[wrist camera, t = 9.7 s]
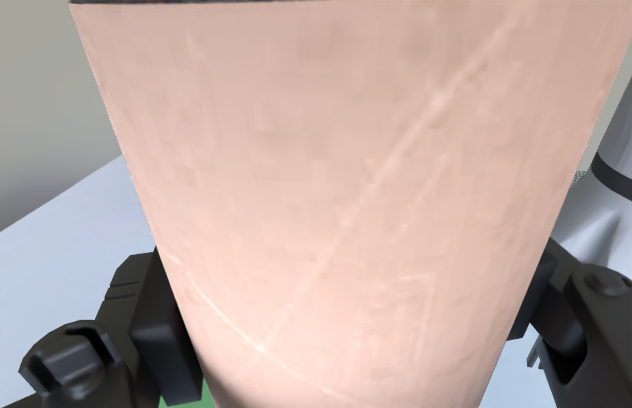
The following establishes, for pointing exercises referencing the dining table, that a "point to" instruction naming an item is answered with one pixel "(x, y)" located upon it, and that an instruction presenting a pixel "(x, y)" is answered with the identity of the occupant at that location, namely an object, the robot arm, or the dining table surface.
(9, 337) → the dining table surface
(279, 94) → the travel mug
